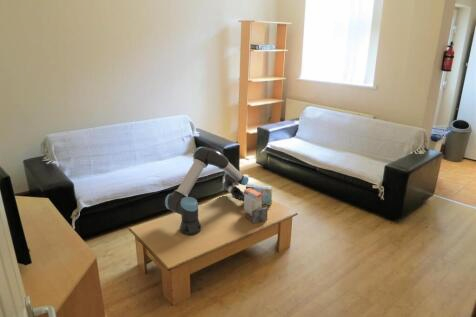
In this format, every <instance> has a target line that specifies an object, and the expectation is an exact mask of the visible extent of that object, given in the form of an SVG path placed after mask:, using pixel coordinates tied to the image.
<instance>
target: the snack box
mask: <svg viewBox="0 0 476 317" xmlns="http://www.w3.org/2000/svg"><path fill="white" fill-rule="evenodd" d="M248 188H251V189H253V190H255V191H257V192H259V193H261V194H262V205H269V206H271V205H272V203H273V185H272V186H271V185H270V186H269V185H262V184H257V183H256V184H254V183H247V184H246V185H245V189H248Z"/></svg>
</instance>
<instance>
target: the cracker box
mask: <svg viewBox="0 0 476 317" xmlns="http://www.w3.org/2000/svg"><path fill="white" fill-rule="evenodd" d="M243 192H244V202H243V207H244V208H243V214H244V215H245V212H246V213H247V214H248V215H250V216H251V217H252V211H254V210H258V209H262V208H263V207H262V205H263V204H262V194H261V193H259V192H257V191H255V190H253V189H251V188H248V189H246V188H245V189H244V191H243Z"/></svg>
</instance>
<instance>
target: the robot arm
mask: <svg viewBox="0 0 476 317" xmlns="http://www.w3.org/2000/svg"><path fill="white" fill-rule="evenodd" d="M192 156H193V157H192V158H193V159H192V161H193V163H192V165H191V167H189V170H188V171H187V173H186V174H185V176H184V178H183V179H182V181H181V183H180V184H179V186H178V188H177V189H175V190H174V191H173V192H171V193H168V194H167V195H166V197H165V200H164V205H165V207H166V209H167V210H169V211H171V212H174V213H176V214H179V215H180V216H181V222H180V225H179V233H181V234H182V235H185V236H194V235H197V234H199V233H200V232H201V230H202V224H201V223H200V220H199V205H198V200H197V199H196V198H194V197H192V196H188V195H189V193H190V192H191V190H192V188H194V185H195V183H197V180H198V178H199V177H200V175H201V174H202V172H203V170H204V169H206V168H207V167H208V166H209V165H210V166H214V167H217V168H218V169H219V170H222V171H224V181H223V184H222V187H223V188H224V190H226V191H227V192H228V193H229V194H231V198H233V199H236V200H238V201H240V202H242V203H244V191H243V190H241V189H240V188H239V187H238V186H236V185H235V184H238V185H239V184H240V185H242V186H246V185H247V184H249V177H248V176H246V175H243V173H241V171H239V170H238V169H237V168H236V167H235V166H234V165H233V164H232V163H230V161H229V159H228V158H227V157H226V156H225V155H224V154H223V153H221V152H220V151H219V150H217V149H212V148H210V147H209V148H208V147H205V146H199V147H197V148H195V150H194V151H193V155H192ZM234 183H235V184H234Z"/></svg>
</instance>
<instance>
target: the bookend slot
mask: <svg viewBox="0 0 476 317" xmlns="http://www.w3.org/2000/svg"><path fill="white" fill-rule="evenodd" d="M268 210H269V209H268V207H267V206H266V207H262V208H261V209H258V210H254V211H252V217H251V216H250V215H248V214H247V213H246V212H245V214H244V217H245V218H246V219H247V220H248V221H249V222H251V223H252V224H257V223H261V222H264V221H267V220H268Z"/></svg>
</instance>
